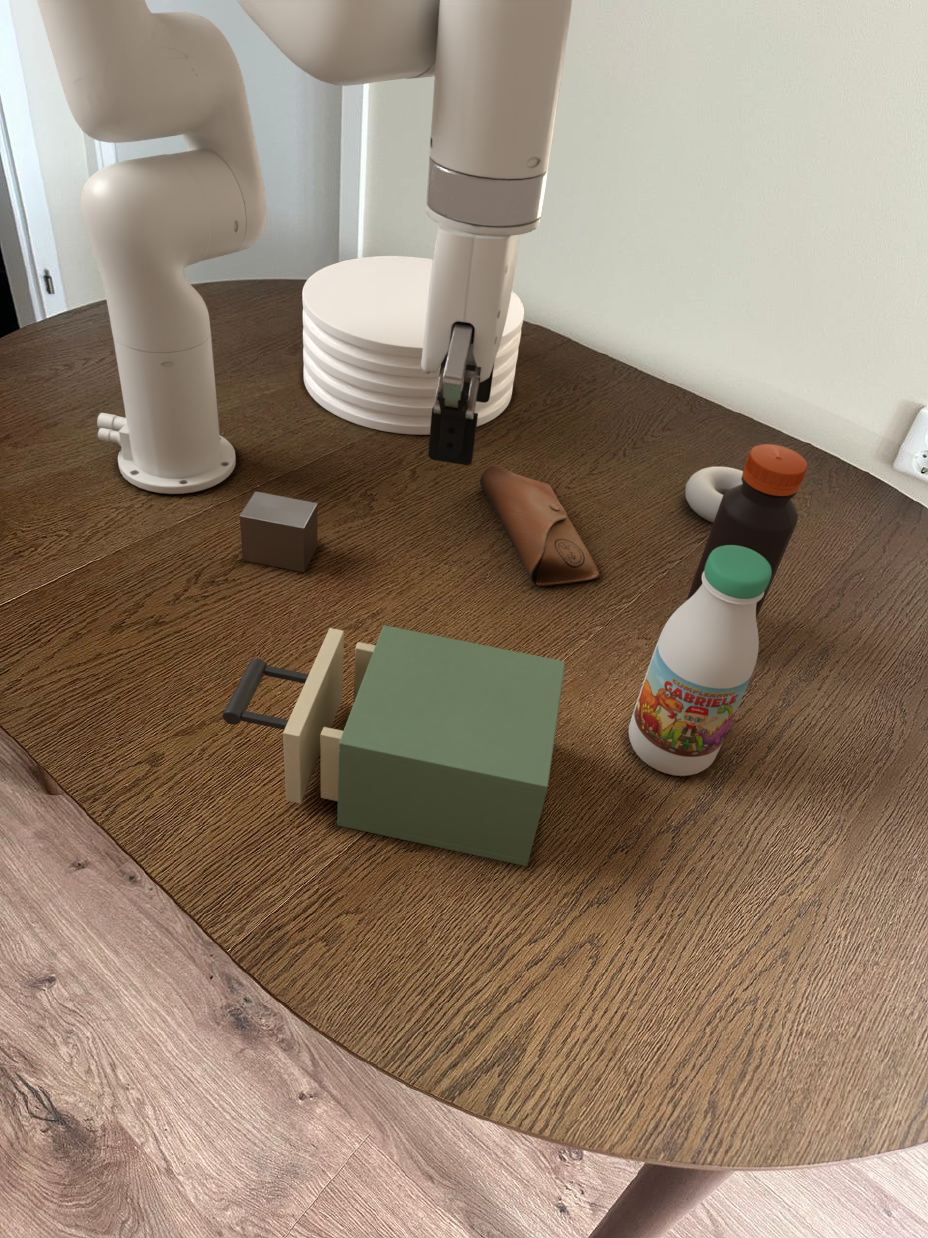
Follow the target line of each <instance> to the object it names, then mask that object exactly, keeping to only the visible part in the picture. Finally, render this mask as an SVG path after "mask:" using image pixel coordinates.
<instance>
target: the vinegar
mask: <svg viewBox="0 0 928 1238" xmlns="http://www.w3.org/2000/svg"><path fill="white" fill-rule="evenodd" d="M808 467H809V466H808V462H807V461H806V459H805V458H804V457H803V456H802V455H801V454H799V453H798V452H797V451H795V450H793V449H790V448H789V447H785V446H782V445H779V444H771V443H767V444H762V443H761V444H759V445H756V446H753V447H752V448H750V451H749V453H748V455H747V459H746V461H745V465H744V468H743V470H742V471H743V473H742V478H741V480H742V483H743V484H741V485H738V486H736V487H733V488H731V489H730V490H729V491H727V492H726V493H725V494H724V495H723V497H722V500H721V503H720V506H719V509H718V511H717V514H716V517H715V520H714V523H712V526H711V528H710V532H709V535H708V537H707V541H706V542H705V546H704V548H703V552H702V555H701V557H700V561H699V563H698V566H697V569H696V572H695V575H694V577H693V579H692V583H691V586H690V589H689V592H688V595H687V598H686V601H687V600H688V599H689V598H691V597H692V596H693V595H694V594H695V593H696V592H697V590H698V589H699V588H700V586H701V585H702V574H703V572H704V569H705V565H706V562H707V559H708V557H709V555H710V554H711V552H712V551H713V550H714V549H716V548H718V547H720V546H725V545H737V546H742V547H746V548H749V549H751V550H753V551H755V552H757V553H759V554H760V555H761V556H763V557H764V558H765V559H766V560H767V561H768V563H769V564H770V566H771V570H772V573H771V578H770V581H769V584H768V586H767V588H766V590H765V591H764V595H763V597H762V599H761V600H759V601H758V602H757V604H756V620H757V619H758V616H759V614H760V612H761V609H762V606H763V605H764V602H765V600H766V597H767V595H768V592H769V591H770V588H771V585H772V583H773V581H774V579H775V576H776V573H777V571H778V569H779V566H780V564H781V562H782V560H783V557H784V555H785V552H786V550H787V547H788V545H789V543H790V541H791V538H792V536H793V533H794V531H795V528H796V527H797V522H798V518H799V514H798V511H797V509H796V506H795V504H794V502H793V500H792V499H793V498H794V497H795V496H796V495H797V492H798V491H799V490H800V488H801V485H802V483H803V480H804V478H805V476H806V473H807V471H808ZM686 601H685V602H686Z"/></svg>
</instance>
